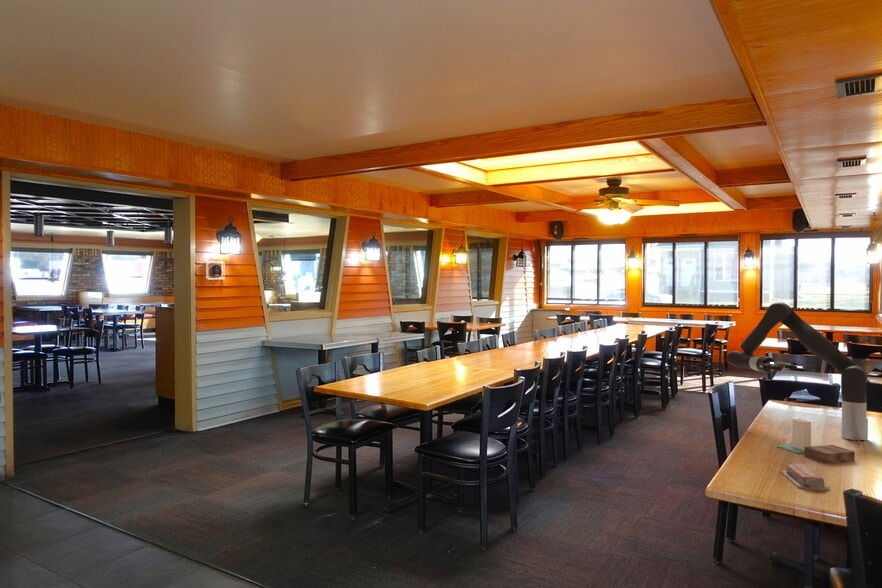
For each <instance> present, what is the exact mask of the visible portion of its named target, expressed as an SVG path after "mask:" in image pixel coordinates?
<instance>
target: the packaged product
mask: <svg viewBox="0 0 882 588" xmlns="http://www.w3.org/2000/svg"><path fill="white" fill-rule="evenodd" d="M781 472H782V473H783V474H782V473H781ZM780 473H781V474H782V475H783V476H785V478H787V479H788V478H789V479H788V480H789V481H790V480H791V481H792V482H793V483H792V482H791V481H790V482H791V483H792V484H793V485H794V486H796V487H797V488H798V487H799V488H798V489H800V488H804V489H805V490H813V489H815V490H818V491H828V490H829V491H830V488H831V487H830V486H829V485H828V484H826V483H825V480H824V478H823V477H822V476H821V475H820V474H818V473H816V472H815V471H814V470H813V469H811V468H810V467H809V466H808V465H806V464H804V463H801V462H798V463H791V464H786V466H785V470H782V469H780ZM804 489H803V490H804ZM815 490H814V491H815Z"/></svg>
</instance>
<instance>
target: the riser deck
mask: <svg viewBox="0 0 882 588" xmlns="http://www.w3.org/2000/svg"><path fill="white" fill-rule="evenodd" d="M855 454H856V452H855V451H854V450H851V449H847V448H844V447H842V446H837V445H834V444H825V445H823V444H822V445H811V446H810V447H805V454H804V457H805V458H808V459H811V460H813V461H816V462H819V463H821V464H824V465H828V464H831V463H832V464H841V463H852V462H853V463H854V462H856V461H855V460H856V458H855V456H856V455H855Z"/></svg>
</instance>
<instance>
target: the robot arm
mask: <svg viewBox="0 0 882 588" xmlns="http://www.w3.org/2000/svg"><path fill="white" fill-rule="evenodd" d="M779 323H781V325H783V326H785V327H787V329H789V330H790V331H791V332H792V333H793V335H794V337H795V338H796V339H797V340H798V341H799V342H800V344H802V345H803V346H804V347H805V348H806V349H807V350H808V351H809V352H810V353H811V354H813V355H814V356H816V357H817V358H819V359H820V360H822V361H824V362H825V363H827V364H829V365H830V366H832V367H833V368H834V370H836V372H838V373H839V374H840V375H841V376H840V394H841V424H840V425H841V430H840V431H841V433H840V436H841V438H843V439H844V440H845V439H846V440H849V439H850V440H849V441H856V440H858V441H859V442H861V441H860V440H864V441H866V440H869V439H868V437H869V436H868V435H869V434H868V433H869V427H868V426H869V419H868V418H867V401H868V400H867V381H868V377H869V376H868V372H867V371H866V369H864V367H862V366H860V365H859V364H857V363H856V362H854V361H853V360H851V359H850V358H849V357H847V355H845V354H844V353H843V352H841V351H840V350H839V348H838V347H837V346H835V345H834V344H833V343H832V342H831V341H830V340H829V339H828V338H827V337H826V336H824V335H823V334H822V333H821V332H819V330H817V329H816V328H814V327H813V326H812V325H810V324H809V323H807V322H806V321H805V320H803V319H802V318H801V316H799V315H798V314H797V313H796V312H795V311H794V310H793V309H792V308H791V307H790V305H788V304H786V303H785V302H783V301H782V302H781V301H780V302H774V303H772V304H770V305H769V306H768V307H767V310H766V311H765V313H764V314H763V316H762V318H761V320H760V321H759V322H758V324H757V325H756V327H755V328H753V330H752V331H751V332H750V333H749V334H748V335H747V336H746V337H745V339H744V340H743V341H742V342H741V343H740V346H739V347H740V349H741V350H742V351H743V352H741V351H736V350H733V351H730V352H728V353H727V355H726V362H727V363H729V364H730V365H732V366H735V367H737V368H739V369H743V368H746V369H749V370H755V371H757V372H763V373H767V374H770V373H772V372H773V371H776V372H782V371H785V370H788V371H798V366H797V365H794V363H787V362H780V361H775V359H774V358H772V357H769V356H766V355H765V356H764V355H754V353H755V352H756V350H758V348H759V347H760V346H762V344H763V342H764V341H765V339H766V337H767V336H768V335H769V333H770V332H771V331H772V330H773V329H774V327H776V326H777V325H778V324H779ZM858 441H857V442H858Z"/></svg>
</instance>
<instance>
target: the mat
mask: <svg viewBox="0 0 882 588" xmlns="http://www.w3.org/2000/svg"><path fill="white" fill-rule="evenodd" d="M776 447H777V448H779V447H780V448H779V449H782V448H783V449H782V450H785V451H787V450H788V451H787V452H790V451H791V452H790V453H794V454H797V455H805V450H801V449H798V448H795V447H792V443H789V444H778V445H776Z"/></svg>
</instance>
